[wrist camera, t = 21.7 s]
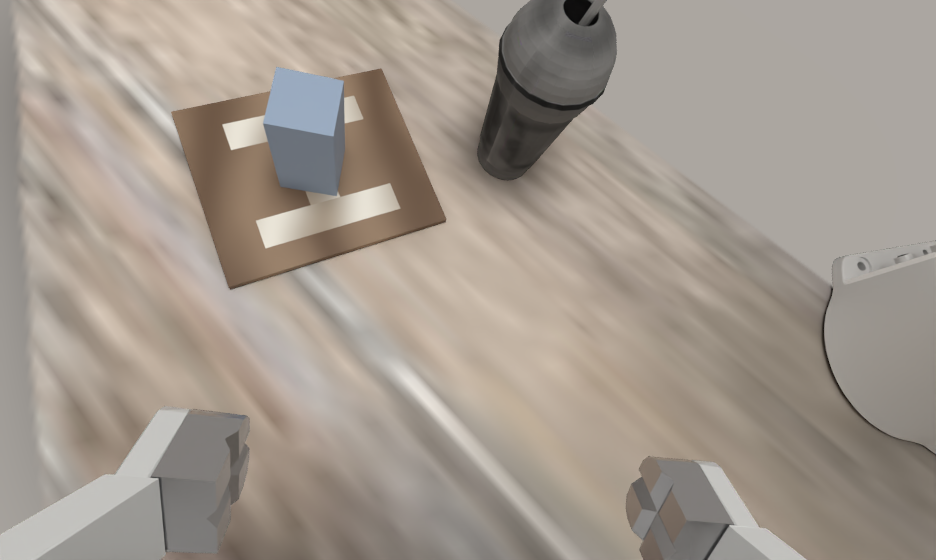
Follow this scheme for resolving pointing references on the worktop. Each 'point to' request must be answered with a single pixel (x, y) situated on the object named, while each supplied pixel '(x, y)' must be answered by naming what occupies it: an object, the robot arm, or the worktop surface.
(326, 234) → the board
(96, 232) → the worktop surface
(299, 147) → the slate block
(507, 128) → the beverage cup
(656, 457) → the robot arm
